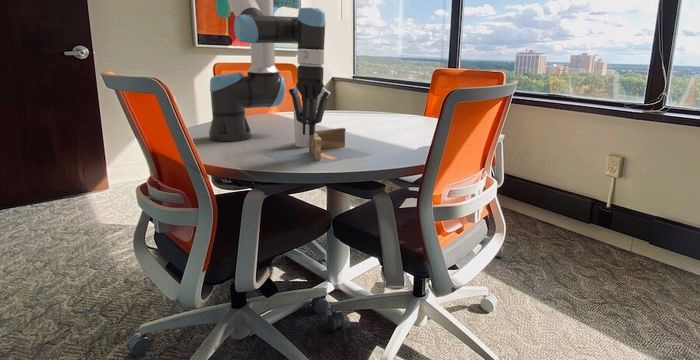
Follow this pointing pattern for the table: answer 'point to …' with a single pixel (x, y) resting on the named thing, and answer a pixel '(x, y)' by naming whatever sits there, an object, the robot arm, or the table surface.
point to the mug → (298, 133)
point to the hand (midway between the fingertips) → (308, 145)
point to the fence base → (331, 139)
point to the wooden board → (316, 146)
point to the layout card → (307, 158)
